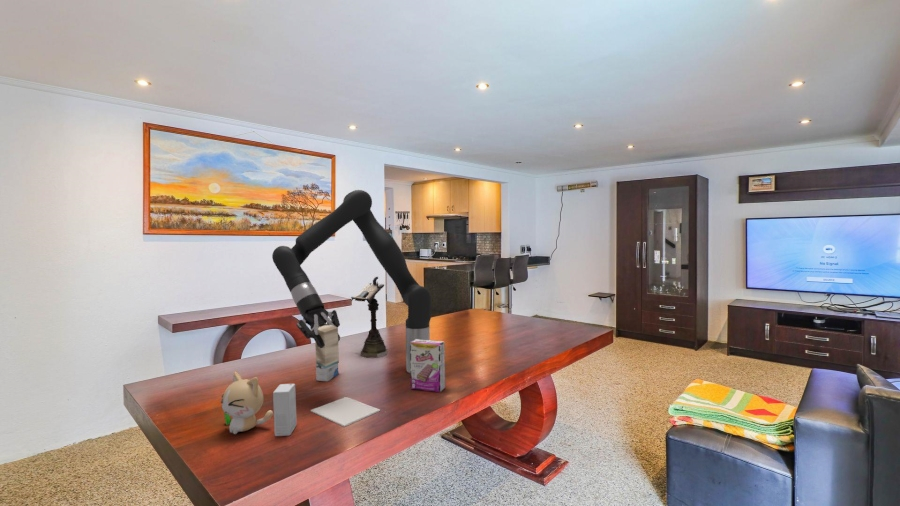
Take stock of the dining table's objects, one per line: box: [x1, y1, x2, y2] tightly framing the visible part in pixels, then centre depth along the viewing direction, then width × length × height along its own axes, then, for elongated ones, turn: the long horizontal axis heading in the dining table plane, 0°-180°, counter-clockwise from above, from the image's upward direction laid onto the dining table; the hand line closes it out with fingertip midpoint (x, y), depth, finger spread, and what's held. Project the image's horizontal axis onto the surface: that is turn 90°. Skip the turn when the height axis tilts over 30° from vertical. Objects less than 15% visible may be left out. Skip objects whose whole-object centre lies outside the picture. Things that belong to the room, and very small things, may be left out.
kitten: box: [220, 371, 274, 435], centre depth 113 cm, size 15×10×15 cm
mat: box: [310, 396, 381, 428], centre depth 124 cm, size 16×13×1 cm
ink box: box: [315, 363, 339, 382], centre depth 154 cm, size 9×5×12 cm, turn 168°
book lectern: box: [350, 276, 388, 359], centre depth 181 cm, size 17×13×35 cm
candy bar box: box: [410, 339, 446, 393], centre depth 141 cm, size 11×5×16 cm, turn 71°
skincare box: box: [272, 383, 298, 437], centre depth 112 cm, size 6×4×12 cm
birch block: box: [314, 323, 340, 368], centre depth 131 cm, size 5×5×12 cm
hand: (330, 343), depth 130 cm, fingers closed on birch block, 5 cm apart
